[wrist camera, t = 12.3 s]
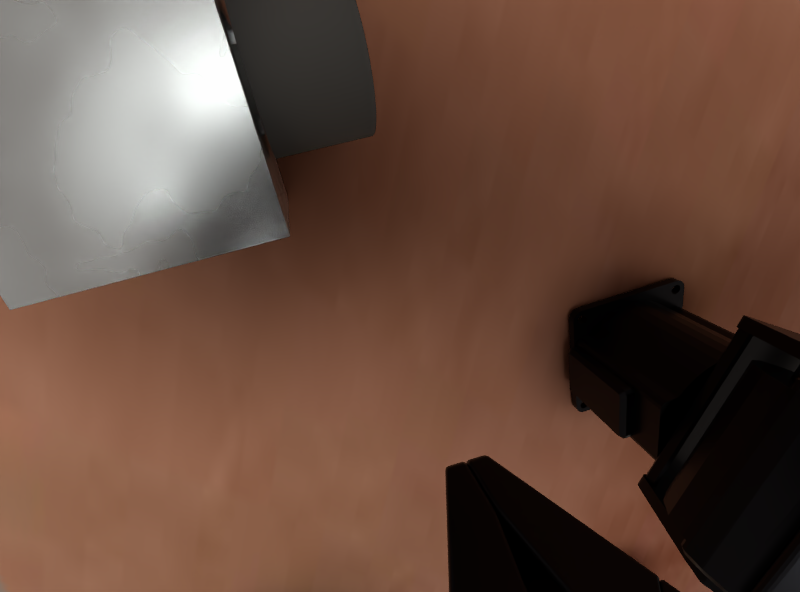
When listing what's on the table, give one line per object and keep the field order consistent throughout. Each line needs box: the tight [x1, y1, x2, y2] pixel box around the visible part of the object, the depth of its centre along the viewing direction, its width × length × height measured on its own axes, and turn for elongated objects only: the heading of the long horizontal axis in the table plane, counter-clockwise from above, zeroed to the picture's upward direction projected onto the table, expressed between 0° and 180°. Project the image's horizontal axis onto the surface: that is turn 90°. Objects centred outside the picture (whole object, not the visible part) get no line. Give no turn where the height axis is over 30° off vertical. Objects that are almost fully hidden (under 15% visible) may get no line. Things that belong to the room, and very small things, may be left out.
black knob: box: [224, 0, 376, 159], centre depth 12 cm, size 12×4×4 cm, turn 102°
